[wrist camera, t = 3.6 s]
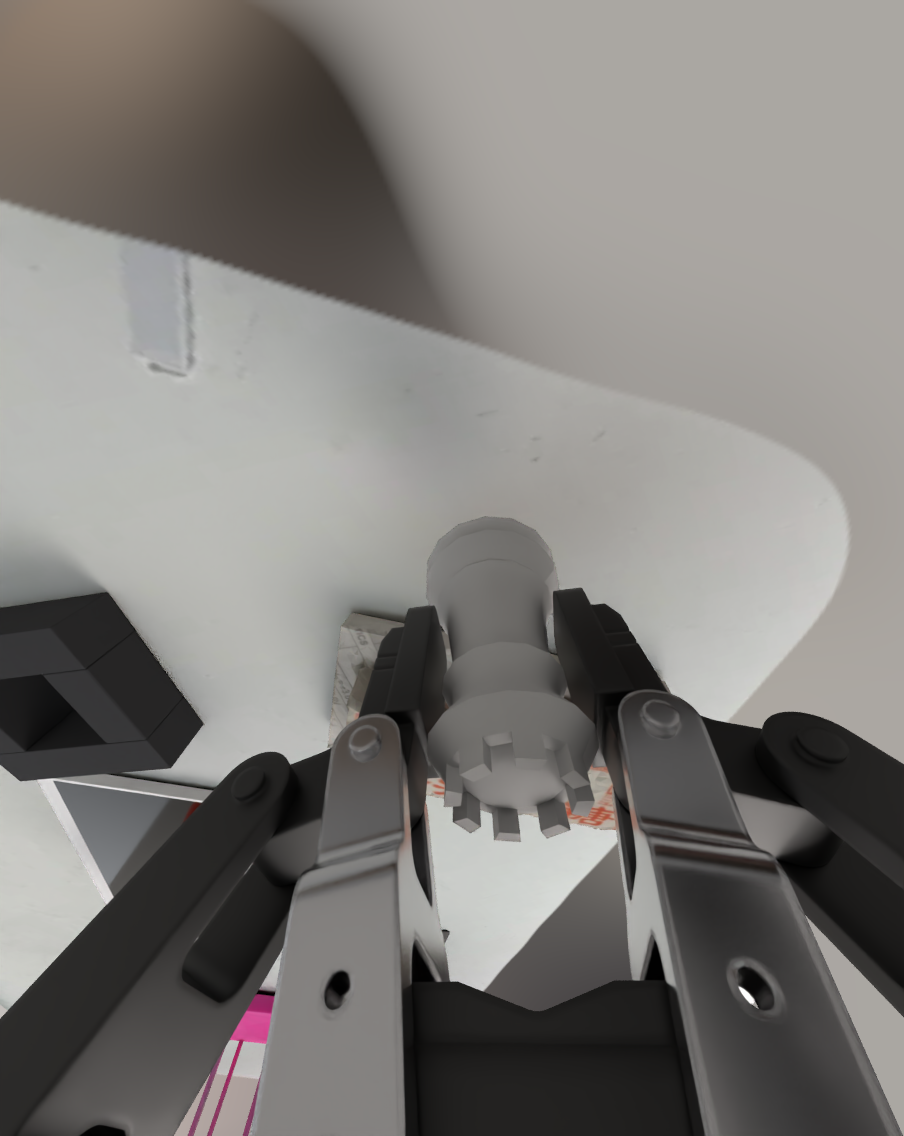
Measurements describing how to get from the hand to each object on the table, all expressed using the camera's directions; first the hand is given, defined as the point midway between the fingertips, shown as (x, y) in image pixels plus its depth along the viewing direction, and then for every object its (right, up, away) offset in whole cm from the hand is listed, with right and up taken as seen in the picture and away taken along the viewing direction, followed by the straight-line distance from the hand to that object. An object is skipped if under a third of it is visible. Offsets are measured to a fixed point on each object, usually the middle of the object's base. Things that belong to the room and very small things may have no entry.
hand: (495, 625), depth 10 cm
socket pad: (-23, -5, +12) cm, 26 cm away
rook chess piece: (0, +2, +3) cm, 3 cm away
